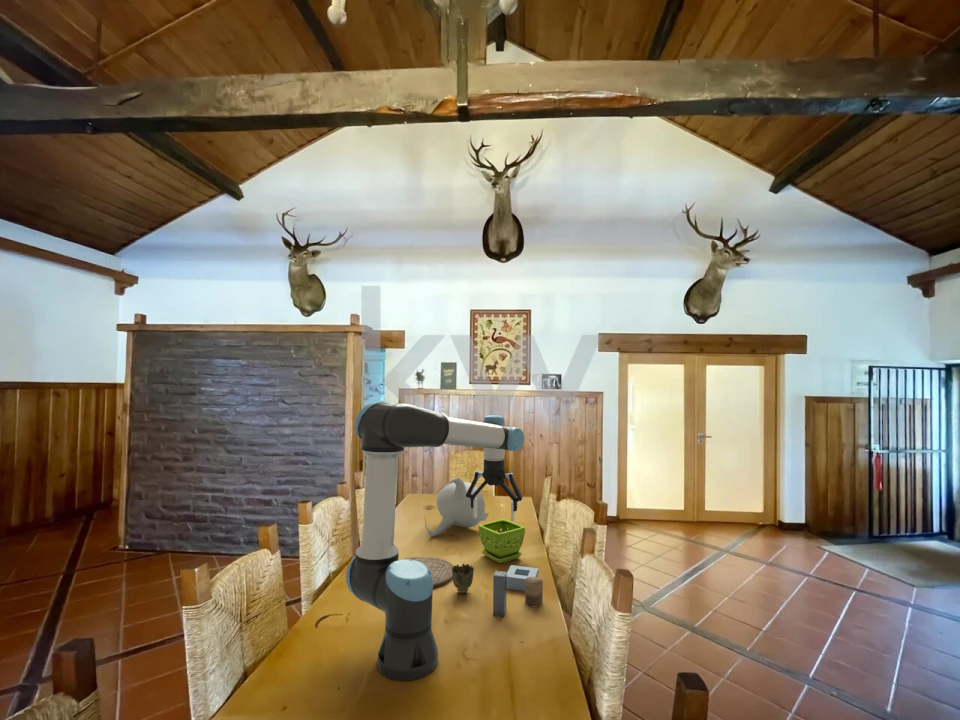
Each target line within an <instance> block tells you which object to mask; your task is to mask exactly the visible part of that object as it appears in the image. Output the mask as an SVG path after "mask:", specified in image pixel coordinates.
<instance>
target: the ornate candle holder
mask: <svg viewBox="0 0 960 720" xmlns="http://www.w3.org/2000/svg"><path fill="white" fill-rule="evenodd" d="M474 572H475V568H474V566H472V565H470V564H469V563H467V564H465V563H462V565H461V566H459V564H456V565H453V568H452V575H453V579H452V582H453V585H454V586H455V588H456V591H457V593H458V594H461V595H464V594H467V593H468V591H469V588H470V587H471V586H472V583H473V581H474Z"/></svg>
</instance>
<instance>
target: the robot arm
mask: <svg viewBox="0 0 960 720" xmlns="http://www.w3.org/2000/svg"><path fill="white" fill-rule="evenodd" d="M505 422H506V421H505V417H504V416H503V415H497V414H493V415H491V414H490V415H489V414H488V415H485V416H484V417H483V421H482V422H481V421H475V420H469V419H463V418H456V417H451V416H447V415H446V414H445V413H444V412H441V411H436V410H432V409H428V408H424V407H421V406H418V405H414V404H411V403H399V402H389V401H374V402H370V403H368V404H366V405H365V406H364V407H362V408H361V409H360V411H359V412H358V413H357V415H356V417H355V421H354V431H355V435H357V437H358V438H359V440H361V452H362V453H363V454H364V456H365V457H366V462H365V463H366V465H365V480H364V496H363V497H364V500H363V513H362V514H363V517H362V518H363V519H362V532H361V533H362V534H361V536H362V537H361V545H360V546H359V547H358V548H357V549H356V550H355V555H354V556H353V557H352V558H351V562H350V563H348V565H347V569H346V572H345V582H346V586H347V588H348V590H349V592H350V593H351V594H352V595H354V596H355V597H356V598H357V599H359V600H360V601H362V602H363V603H367V604H368V605H371V606H373V607H374V608H376V609H377V610H380V611H382V612H384V614H385V615H384V616H385V621H384V622H385V623H384V626H385V627H384V634H383V637H382V640H381V643H380V645H379V649H378V652H377V657H376V658H377V661H376V664H377V665H376V666H377V667H376V668H377V669H378V671H379V672H380V674H381V675H383V676H384V677H385V678H388V679H391V680H394V681H403V682H404V681H412V680H417V679H419V678H423V677H425V676H427V675H429V674H430V673H432V671H434V670H435V668H436V667H437V665H438V661H439V660H438V659H439V649H438V646H437V641H436V639H435V636H434V633H433V628H432V624H433V623H432V621H433V618H432V615H433V594H434V593H433V591H434V588H433V583H432V573H431V571H430V569H429V568H428V567H427V566H426V565H425V564H423V563H421V562H419V561H416V560H412V561H410V560H409V559H406V558H403V559H404V560H402V559H399V556H400V555H399V554H400V553H399V551H400V550H399V548H398V546H396V545H395V543H394V542H395V541H394V540H395V526H396V525H395V523H396V522H395V521H396V505H397V504H396V503H397V487H398V486H397V484H398V464H399V457H400V456H401V455H402V454H403V453H404V451H405V448H426V447H428V448H430V447H431V448H438V447H442V446H443V445H453V446H461V447H463V446H464V447H467V448H469V447H472V448H483V472H482V471H480V470H476V471H475V472H474V476H473V477H474V478H473V480H472V482H471V486H470V488H469V490H468V492H467V493H466V497H469V498H470V499H471V508H473V518H476V517H477V498H475V497H476V495H477V494H478V493H479V492H482V490H483V489H484V488H485V486H486V485H488V486H496V487H498V486H500V487H501V488H502V489H503V491H504V492H505V493H506V494H507V495H508V497H509V498H510V499H511V503H510V521H511V522H514V521H515V512H517V511H518V502H521V501H522V500H523V496H522V493H521V490H520V489H519V487H518V486H519V485H518V484H517V482H516V480H515V476H514V475H515V474H514V472H510V473H506V472H505V469H506V468H505V466H506V465H505V464H506V463H505V462H506V461H505V457H506V456H505V455H506V454H505V453H506V451H509V452H514V451H515V452H518V451H520V450H521V449H522V447H523V446H524V443H525V433H524V431H523V430H522V428H520V427H516V426H509V425H508V426H507V425H506V423H505ZM481 477H482V478H483V479H484V481H483V482H482V483H481V484H480V486H478V487H477V488H478V489H477V490H476V491H475V492H474V494H471V493H472V491H473V489H474V487H475V486H476V485H477V483H478V481H479V479H480V478H481ZM506 478H507V480H508V481H509V483H510V486H511V487H512V489H513V490H512V489H511V488H510V487H509V485H508V484H507V483H506V481H505V479H506ZM513 491H514V492H513Z"/></svg>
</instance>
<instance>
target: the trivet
mask: <svg viewBox="0 0 960 720" xmlns="http://www.w3.org/2000/svg"><path fill="white" fill-rule="evenodd" d="M404 559H409V560H410V561H412V560H416V561H419V562H421V563H423V564H425V565H426V566H427V567H428V568H429V569H430V571H431V573H432V583H433V589H435V588H439V587H442V586H444V585H446V584H448V583H450V582H451V581H453V575H452V568H453V566H454V565H453V564H452V563H451V562H450V561H447V560H446V559H442V558H439V557H432V556H413V557H407V558H403V559H401V560H404Z"/></svg>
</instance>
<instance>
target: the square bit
mask: <svg viewBox="0 0 960 720" xmlns="http://www.w3.org/2000/svg"><path fill="white" fill-rule="evenodd" d="M507 572H508V571H501V570H500V571H499V570H495V572H494V574H493V578H492V579H493V582H492V583H493V588H492V589H493V592H492V593H493V594H492V595H493V596H492V601H493V602H492V616H495V617H501V618H505V616H506V613H507V593H508V592H507Z"/></svg>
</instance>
